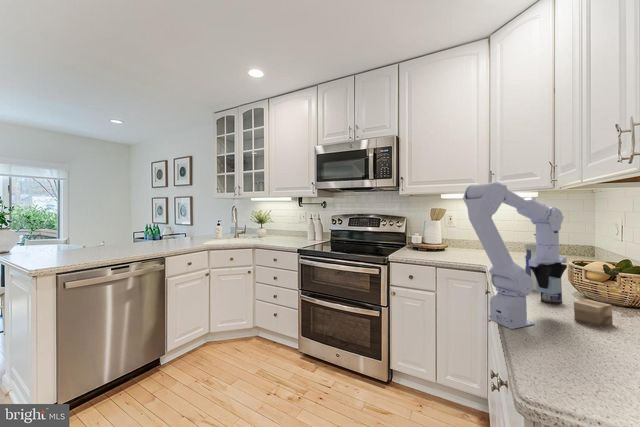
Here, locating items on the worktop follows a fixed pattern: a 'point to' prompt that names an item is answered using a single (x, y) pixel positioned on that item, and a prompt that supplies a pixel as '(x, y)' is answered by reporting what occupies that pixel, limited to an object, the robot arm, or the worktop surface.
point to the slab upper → (593, 308)
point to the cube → (551, 286)
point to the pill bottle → (551, 298)
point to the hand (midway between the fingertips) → (548, 287)
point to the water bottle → (530, 255)
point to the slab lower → (593, 320)
